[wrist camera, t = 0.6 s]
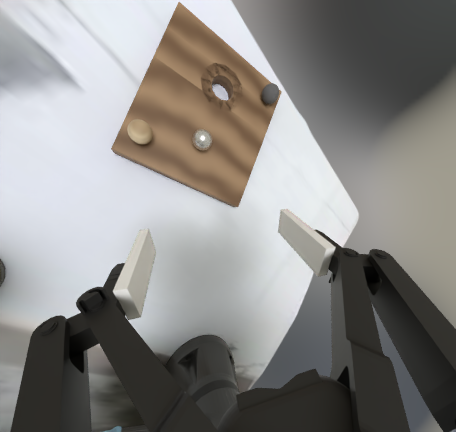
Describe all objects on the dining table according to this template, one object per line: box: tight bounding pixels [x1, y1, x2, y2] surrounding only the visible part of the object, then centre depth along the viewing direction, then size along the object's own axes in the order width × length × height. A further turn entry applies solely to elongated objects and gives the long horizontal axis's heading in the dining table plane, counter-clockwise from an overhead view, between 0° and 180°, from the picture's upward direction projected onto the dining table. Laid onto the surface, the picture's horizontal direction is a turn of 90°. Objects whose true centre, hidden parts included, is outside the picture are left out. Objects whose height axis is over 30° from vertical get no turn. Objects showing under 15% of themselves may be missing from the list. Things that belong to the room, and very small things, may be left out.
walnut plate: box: [111, 2, 281, 207], centre depth 33 cm, size 28×24×2 cm
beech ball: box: [127, 119, 153, 144], centre depth 26 cm, size 4×4×4 cm
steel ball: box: [192, 129, 212, 151], centre depth 30 cm, size 4×4×4 cm
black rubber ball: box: [262, 83, 279, 104], centre depth 35 cm, size 4×4×4 cm
